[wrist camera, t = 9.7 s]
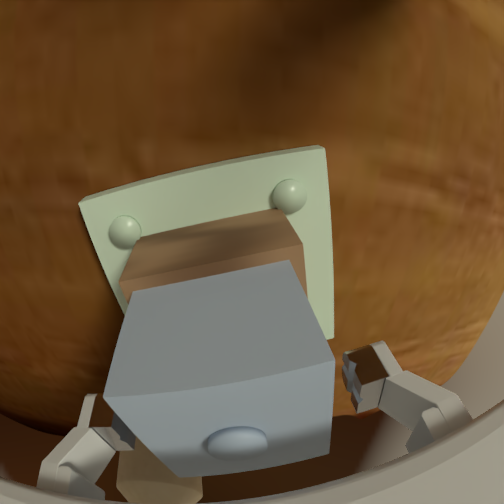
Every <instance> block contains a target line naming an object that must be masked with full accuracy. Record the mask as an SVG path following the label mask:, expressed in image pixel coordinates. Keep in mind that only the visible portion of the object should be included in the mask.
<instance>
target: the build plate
mask: <svg viewBox="0 0 504 504" xmlns="http://www.w3.org/2000/svg"><path fill="white" fill-rule="evenodd" d="M78 204H79V207H80V210H81V212H82V215H83V218H84V221H85V224H86V226H87V229H88V232H89V234H90V237H91V240H92V242H93V245H94V247H95V250H96V252H97V255H98V257H99V260H100V262H101V264H102V267H103V269H104V271H105V274H106V276H107V278H108V281H109V283H110V285H111V287H112V290H113V292H114V294H115V296H116V298H117V300H118V302H119V305H120V307H121V309H122V311H123V313H124V315H125V314H126V311H127V308H128V303H127V301H126V299H125V296H124V294H123V292H122V290H121V287H120V285H119V283H118V281H119V279H120V277H121V274H122V272H123V270H124V268H125V265H126V263H127V261H128V259H129V256H130V254H131V252H132V250H133V248H134V245H135V243H136V241H137V240H139V239H140V237H142V236H147V235H151V234H155V233H160V232H164V231H168V230H173V229H177V228H182V227H186V226H191V225H195V224H200V223H204V222H209V221H214V220H218V219H223V218H228V217H233V216H238V215H242V214H247V213H252V212H257V211H262V210H267V209H273V208H278V209H279V210H280V209H282V211H283V212H284V214H285V216H286V217H287V219H288V220H289V222H290V224H291V225H292V227H293V228H294V230H295V232H296V233H297V235H298V237H299V238H300V240H301V241H302V243H303V249H304V259H305V271H306V282H307V295H308V301H309V303H310V305H311V307H312V309H313V312H314V314H315V316H316V318H317V320H318V323H319V325H320V327H321V329H322V331H323V334H324V336H325V338H326V340H328V339H331V338H334V280H333V250H332V229H331V213H330V199H329V186H328V174H327V163H326V153H325V148H324V147H321V146H319V145H314V146H307V147H300V148H293V149H287V150H280V151H274V152H268V153H262V154H257V155H251V156H246V157H241V158H235V159H230V160H225V161H221V162H216V163H211V164H206V165H202V166H197V167H193V168H189V169H184V170H180V171H176V172H172V173H168V174H164V175H160V176H156V177H152V178H148V179H144V180H141V181H137V182H133V183H130V184H126V185H123V186H119V187H116V188H112V189H109V190H106V191H102V192H99V193H96V194H93V195H89V196H86V197H85V198H83V199H82V200H81V201H80V202H79V203H78Z"/></svg>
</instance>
